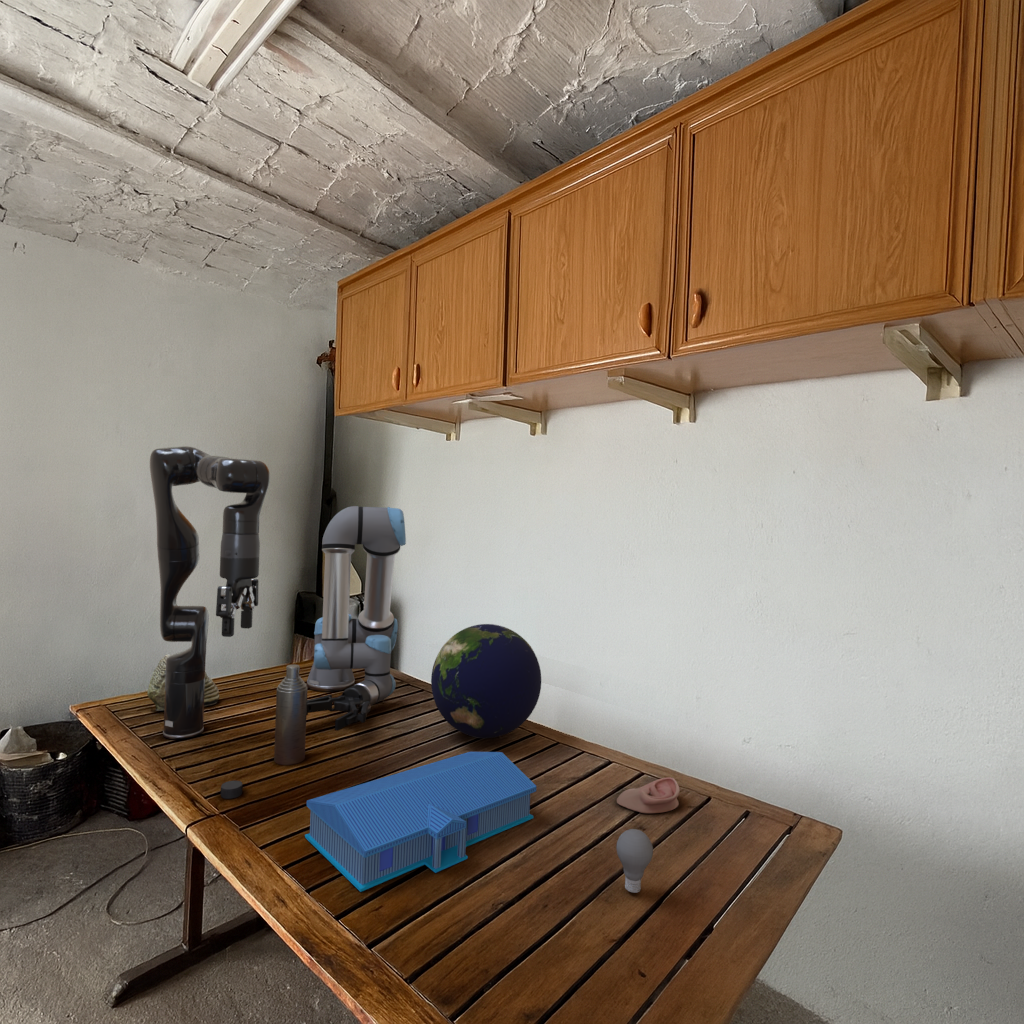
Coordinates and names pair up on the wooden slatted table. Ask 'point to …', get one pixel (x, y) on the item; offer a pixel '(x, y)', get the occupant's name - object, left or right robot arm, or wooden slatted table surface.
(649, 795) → the anatomical model
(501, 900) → the wooden slatted table surface
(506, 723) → the globe
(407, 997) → the wooden slatted table surface
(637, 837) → the light bulb
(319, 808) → the model building
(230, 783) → the cap
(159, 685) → the fossil
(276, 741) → the bottle
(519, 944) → the wooden slatted table surface
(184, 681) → the left robot arm
